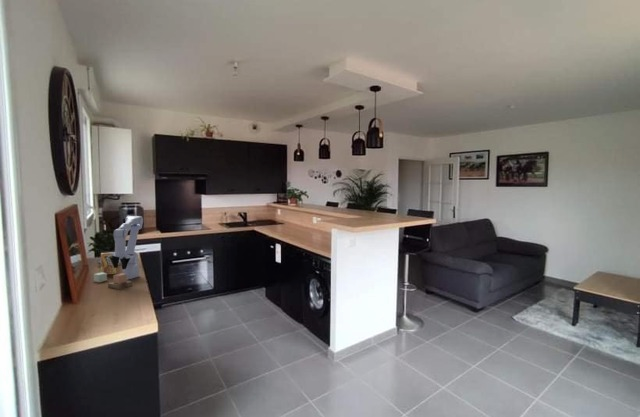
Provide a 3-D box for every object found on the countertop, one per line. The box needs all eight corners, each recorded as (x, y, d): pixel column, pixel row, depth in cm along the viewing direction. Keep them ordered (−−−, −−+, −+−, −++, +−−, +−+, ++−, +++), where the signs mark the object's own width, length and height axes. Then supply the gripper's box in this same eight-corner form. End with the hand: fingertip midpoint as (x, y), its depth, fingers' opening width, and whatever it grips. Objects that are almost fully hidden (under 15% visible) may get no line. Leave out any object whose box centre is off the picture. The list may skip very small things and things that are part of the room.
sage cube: (101, 279, 203) (101, 272, 203) (106, 280, 202) (106, 273, 201) (93, 281, 199) (93, 274, 198) (99, 282, 197) (99, 275, 197)
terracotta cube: (121, 280, 194) (121, 273, 194) (126, 281, 192) (126, 274, 192) (113, 282, 190) (113, 275, 189) (119, 284, 188) (118, 276, 187)
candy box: (115, 272, 220) (115, 251, 220) (116, 273, 217) (116, 252, 216) (100, 274, 215) (100, 252, 214) (101, 275, 212) (101, 254, 211)
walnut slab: (121, 284, 197) (121, 279, 197) (131, 286, 194) (131, 281, 194) (108, 288, 188) (108, 283, 188) (118, 290, 185) (118, 285, 185)
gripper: (106, 247, 193) (105, 268, 193) (122, 249, 188) (122, 271, 188) (116, 245, 199) (116, 266, 200) (132, 247, 194) (132, 268, 195)
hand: (119, 268), depth 194 cm, fingers open, 7 cm apart
